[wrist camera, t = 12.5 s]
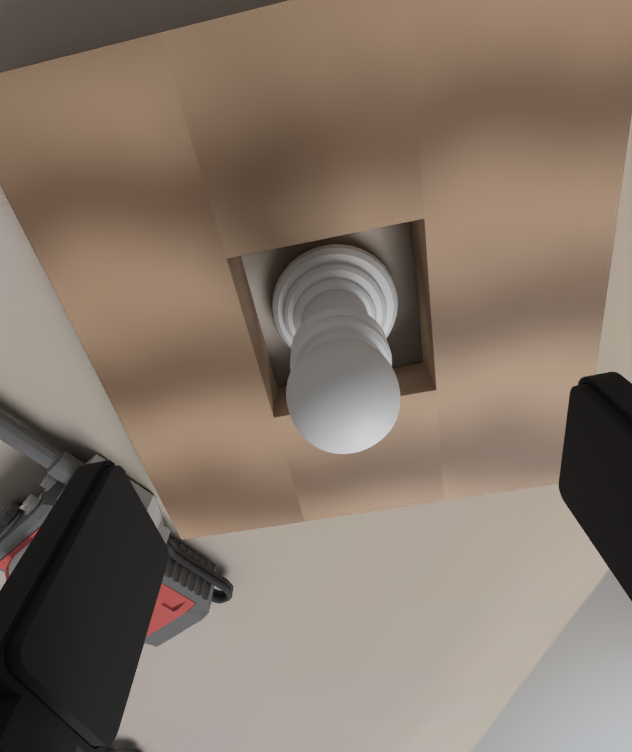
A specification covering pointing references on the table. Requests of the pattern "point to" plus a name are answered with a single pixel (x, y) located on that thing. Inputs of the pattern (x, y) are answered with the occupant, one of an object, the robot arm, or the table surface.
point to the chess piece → (339, 347)
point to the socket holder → (332, 232)
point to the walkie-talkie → (184, 568)
